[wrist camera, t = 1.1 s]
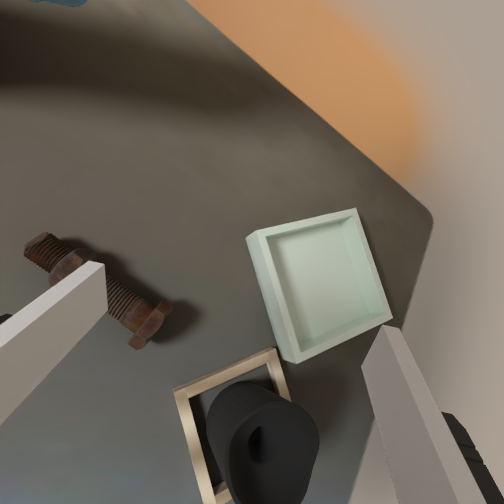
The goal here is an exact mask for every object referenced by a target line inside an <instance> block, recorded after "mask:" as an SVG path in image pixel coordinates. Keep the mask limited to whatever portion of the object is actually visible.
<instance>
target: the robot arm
mask: <svg viewBox="0 0 504 504" xmlns="http://www.w3.org/2000/svg"><path fill="white" fill-rule="evenodd" d="M31 1H34V2H39V1H40V0H31ZM41 1H46V2H51V3H56V4H60V5H65V6H70V7H75V6H80V5H82V4H84V3H85V2H86V1H87V0H41ZM107 311H108V303H107V290H106V277H105V265H104V264H102V263H97V262H93V261H88V262H86V263H85V264H84V265H82V266H81V267H79V268H78V269H77V270H75V271H74V272H73V273H71V274H70V275H68V276H67V277H66V278H64V279H63V280H61V281H60V282H59V283H57V284H56V285H55V286H53V287H52V288H50V289H49V290H48V291H46V292H45V293H44V294H42V295H41V296H39V297H38V298H37V299H35V300H34V301H33V302H31V303H30V304H28V305H27V306H26V307H24V308H23V309H22V310H20V311H19V312H17V313H16V314H15V315H10V314H5V315H2V316H0V425H1V424H2V423H3V422H4V421H5V420H6V419H7V418H8V417H9V415H10V414H11V413H12V412H13V411H14V410H15V409H16V408H17V407H18V406H19V405H20V404H21V403H22V402H23V401H24V399H25V398H26V397H27V396H28V395H29V394H30V393H31V392H32V391H33V390H34V389H35V388H36V387H37V386H38V384H39V383H40V382H41V381H42V380H43V379H44V378H45V377H46V376H47V375H48V374H49V373H50V372H51V371H52V369H53V368H54V367H55V366H56V365H57V364H58V363H59V362H60V361H61V360H62V359H63V358H64V357H65V356H66V354H67V353H68V352H69V351H70V350H71V349H72V348H73V347H74V346H75V345H76V344H77V343H78V342H79V341H80V339H81V338H82V337H83V336H84V335H85V334H86V333H87V332H88V331H89V330H90V329H91V328H92V327H93V326H94V324H95V323H96V322H97V321H98V320H99V319H100V318H101V317H102V316H103V315H104V314H105V313H106V312H107ZM361 368H362V371H363V375H364V379H365V382H366V386H367V390H368V393H369V397H370V400H371V404H372V408H373V411H374V415H375V419H376V422H377V426H378V429H379V433H380V437H381V440H382V444H383V447H384V451H385V455H386V458H387V462H388V466H389V469H390V473H391V477H392V480H393V484H394V488H395V491H396V495H397V499H398V502H399V504H504V498H503V496H502V494H501V492H500V491H499V489H498V487H497V485H496V483H495V482H494V480H493V478H492V476H491V474H490V473H489V471H488V469H487V467H486V465H484V464H483V460H482V458H481V456H480V454H479V453H478V451H477V450H476V449H475V445H474V444H473V442H472V440H471V438H470V436H469V434H468V433H467V431H466V429H465V428H464V427H463V426H462V425H461V424H460V423H459V422H458V420H457V419H456V418H455V417H454V416H453V415H452V414H449V413H444V412H441V411H440V410H439V407H438V405H437V403H436V401H435V399H434V397H433V395H432V393H431V391H430V389H429V387H428V385H427V383H426V381H425V379H424V377H423V375H422V373H421V371H420V369H419V367H418V365H417V363H416V361H415V359H414V357H413V355H412V353H411V351H410V349H409V347H408V345H407V343H406V341H405V339H404V337H403V335H402V333H401V331H400V329H399V328H395V327H390V326H386V325H382V326H381V328H380V330H379V332H378V334H377V336H376V338H375V340H374V342H373V344H372V346H371V348H370V350H369V352H368V354H367V356H366V358H365V360H364V362H363V364H362V366H361Z"/></svg>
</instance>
